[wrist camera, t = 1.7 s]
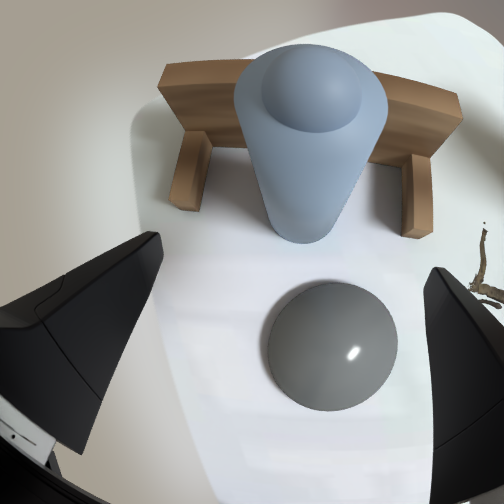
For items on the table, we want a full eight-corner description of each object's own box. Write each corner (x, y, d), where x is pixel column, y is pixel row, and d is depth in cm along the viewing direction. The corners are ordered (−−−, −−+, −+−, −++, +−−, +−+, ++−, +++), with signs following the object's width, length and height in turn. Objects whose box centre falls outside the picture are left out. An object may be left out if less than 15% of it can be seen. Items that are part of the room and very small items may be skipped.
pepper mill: (307, 258, 21) (339, 169, 6) (253, 213, 22) (187, 74, 7) (350, 205, 21) (426, 64, 6) (297, 164, 22) (294, -2, 7)
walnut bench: (419, 239, 20) (475, 208, 12) (180, 210, 22) (129, 168, 14) (416, 149, 21) (456, 93, 13) (200, 125, 23) (166, 64, 15)
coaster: (335, 430, 18) (336, 433, 18) (241, 354, 20) (240, 356, 19) (417, 336, 19) (420, 337, 18) (327, 256, 20) (328, 255, 20)
